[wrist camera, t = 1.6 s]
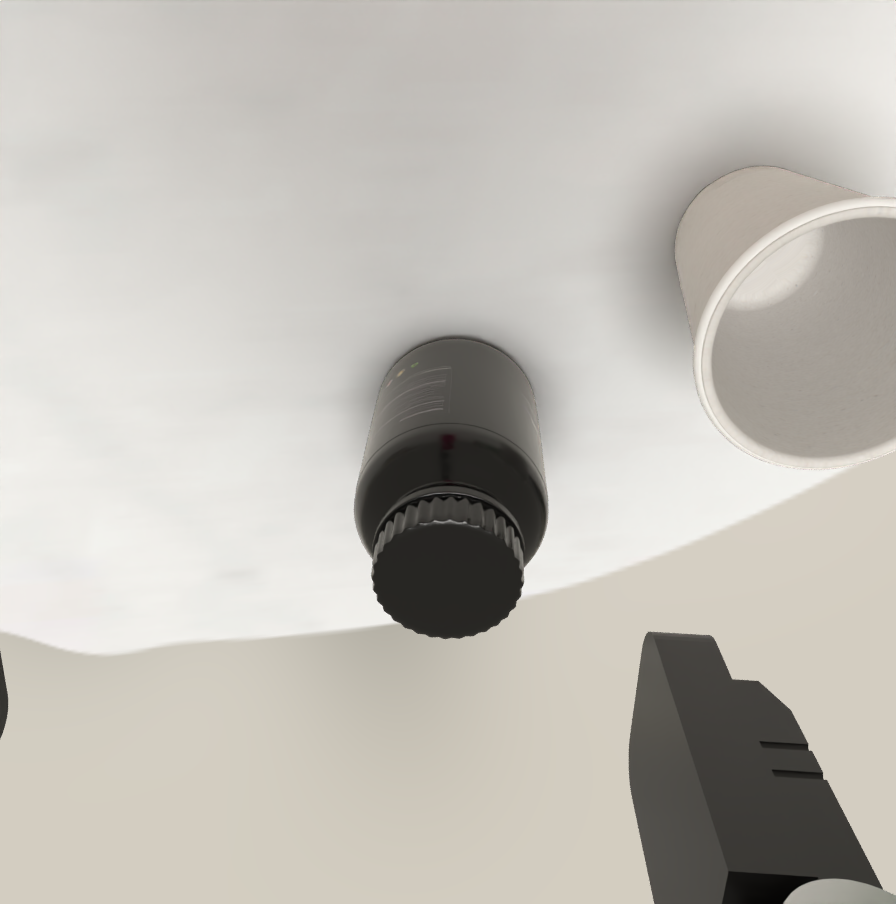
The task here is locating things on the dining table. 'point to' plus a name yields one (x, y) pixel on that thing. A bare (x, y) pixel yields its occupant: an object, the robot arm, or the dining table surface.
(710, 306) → the dixie cup
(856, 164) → the dining table surface
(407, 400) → the supplement bottle
